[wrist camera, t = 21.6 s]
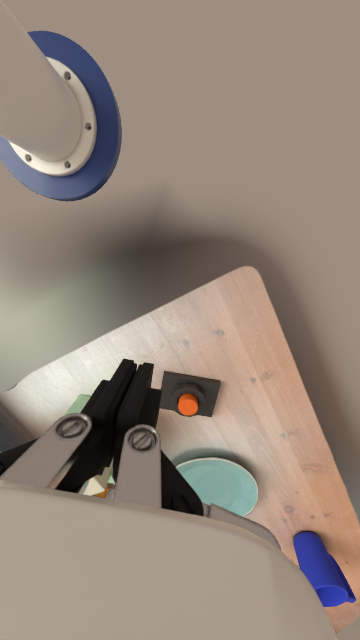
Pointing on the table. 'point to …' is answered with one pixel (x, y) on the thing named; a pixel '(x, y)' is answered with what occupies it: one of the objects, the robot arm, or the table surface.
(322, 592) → the mug
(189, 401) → the button
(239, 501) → the plate
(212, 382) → the block
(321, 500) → the table surface
